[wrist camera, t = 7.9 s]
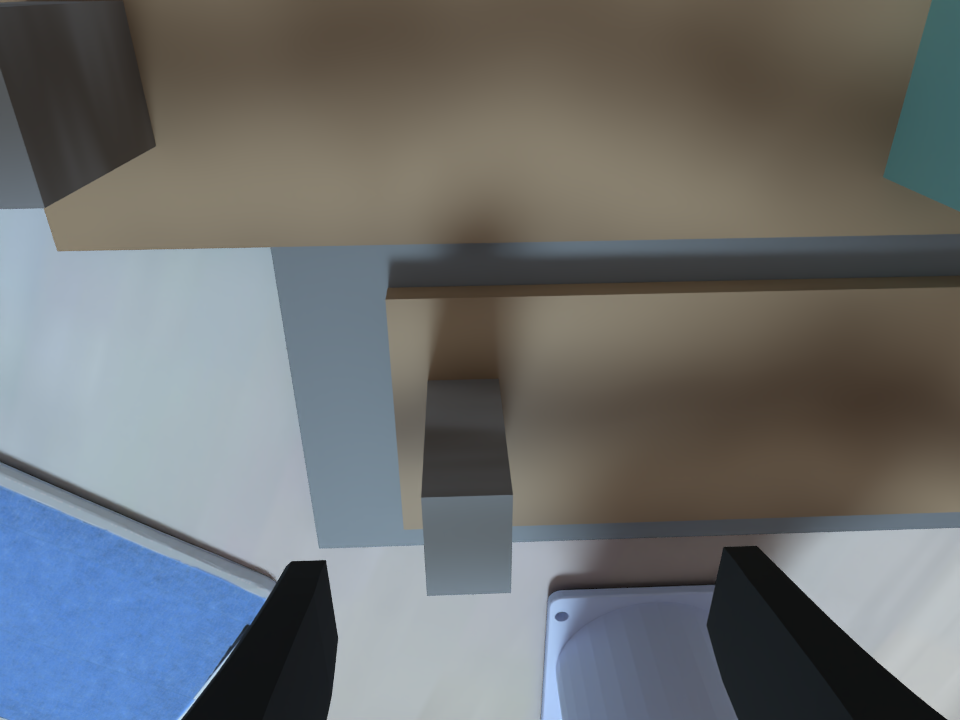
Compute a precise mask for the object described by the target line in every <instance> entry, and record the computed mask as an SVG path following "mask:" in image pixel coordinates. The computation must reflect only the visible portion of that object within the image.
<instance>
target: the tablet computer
mask: <svg viewBox="0 0 960 720" xmlns="http://www.w3.org/2000/svg"><path fill="white" fill-rule="evenodd" d="M275 585H276V582H275V581H274V580H272V579H271V578H269V577H267V576H265V575H263V574H261V573H259V572H256V571H254V570H252V569H249V568H247V567H245V566H242V565H240V564H238V563H236V562H233V561H231V560H229V559H226V558H224V557H222V556H219V555H217V554H214V553H212V552H209V551H207V550H204V549H202V548H199V547H197V546H194V545H192V544H190V543H187V542H185V541H182V540H180V539H177V538H175V537H173V536H170V535H168V534H165V533H163V532H160V531H158V530H156V529H153V528H151V527H149V526H146V525H144V524H142V523H140V522H137V521H135V520H133V519H130V518H128V517H126V516H123V515H121V514H119V513H116V512H114V511H112V510H110V509H107V508H105V507H102V506H100V505H98V504H95V503H93V502H91V501H88V500H86V499H84V498H81V497H79V496H77V495H74V494H72V493H70V492H68V491H65V490H63V489H61V488H58V487H56V486H54V485H51V484H49V483H47V482H45V481H42V480H40V479H38V478H35V477H33V476H31V475H29V474H26V473H24V472H22V471H19V470H17V469H15V468H13V467H10V466H8V465H6V464H4V463H1V462H0V718H2V719H5V720H181V719H182V718H183V716H184V715H185V714H186V713H187V711H188V710H189V709H190V707H191V706H192V705H193V704H194V702H195V701H196V700H197V698H198V697H199V696H200V694H201V693H202V692H203V690H204V689H205V688H206V687H207V685H208V684H209V683H210V681H211V680H212V679H213V677H214V676H215V675H216V673H217V672H218V671H219V669H220V668H221V667H222V665H223V664H224V662H225V661H226V659H227V658H228V657H229V655H230V654H231V652H232V651H233V649H234V648H235V646H236V645H237V644H238V642H239V641H240V639H241V638H242V636H243V635H244V633H245V632H246V631H247V629H248V628H249V626H250V625H251V623H252V621H253V620H254V618H255V617H256V615H257V614H258V612H259V611H260V609H261V608H262V606H263V604H264V603H265V601H266V600H267V598H268V596H269V595H270V593H271V591H272V590H273V588H274V586H275Z"/></svg>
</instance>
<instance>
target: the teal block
mask: <svg viewBox="0 0 960 720" xmlns="http://www.w3.org/2000/svg"><path fill="white" fill-rule="evenodd" d="M883 177H884V178H886V179H888V180H890V181H892V182H895V183H897V184H899V185H901V186H904V187H906V188H908V189H910V190H913V191H915V192H917V193H919V194H921V195H924V196H926V197H928V198H930V199H933V200H935V201H937V202H939V203H941V204H944V205H946V206H948V207H950V208H953V209H955V210H957V211H959V212H960V0H932V2H931V5H930V9H929V12H928V16H927V20H926V23H925V27H924V31H923V34H922V38H921V41H920V45H919V49H918V52H917V56H916V60H915V63H914V67H913V70H912V74H911V78H910V81H909V85H908V88H907V92H906V96H905V99H904V103H903V107H902V110H901V114H900V117H899V121H898V125H897V128H896V132H895V136H894V139H893V143H892V146H891V150H890V154H889V157H888V161H887V165H886V168H885V172H884V175H883Z"/></svg>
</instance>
